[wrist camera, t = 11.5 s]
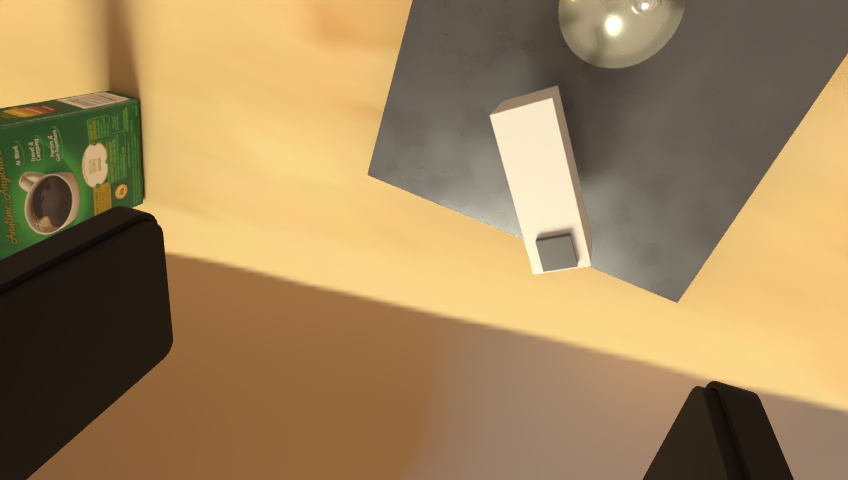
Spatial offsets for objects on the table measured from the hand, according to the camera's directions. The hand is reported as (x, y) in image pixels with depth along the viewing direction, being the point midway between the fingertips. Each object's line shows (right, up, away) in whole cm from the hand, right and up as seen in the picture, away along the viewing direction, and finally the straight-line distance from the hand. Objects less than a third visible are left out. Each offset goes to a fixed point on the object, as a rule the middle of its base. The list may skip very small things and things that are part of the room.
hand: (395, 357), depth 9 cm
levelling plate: (+10, +13, +15) cm, 22 cm away
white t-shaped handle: (+7, +6, +17) cm, 19 cm away
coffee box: (-20, +9, +27) cm, 35 cm away
